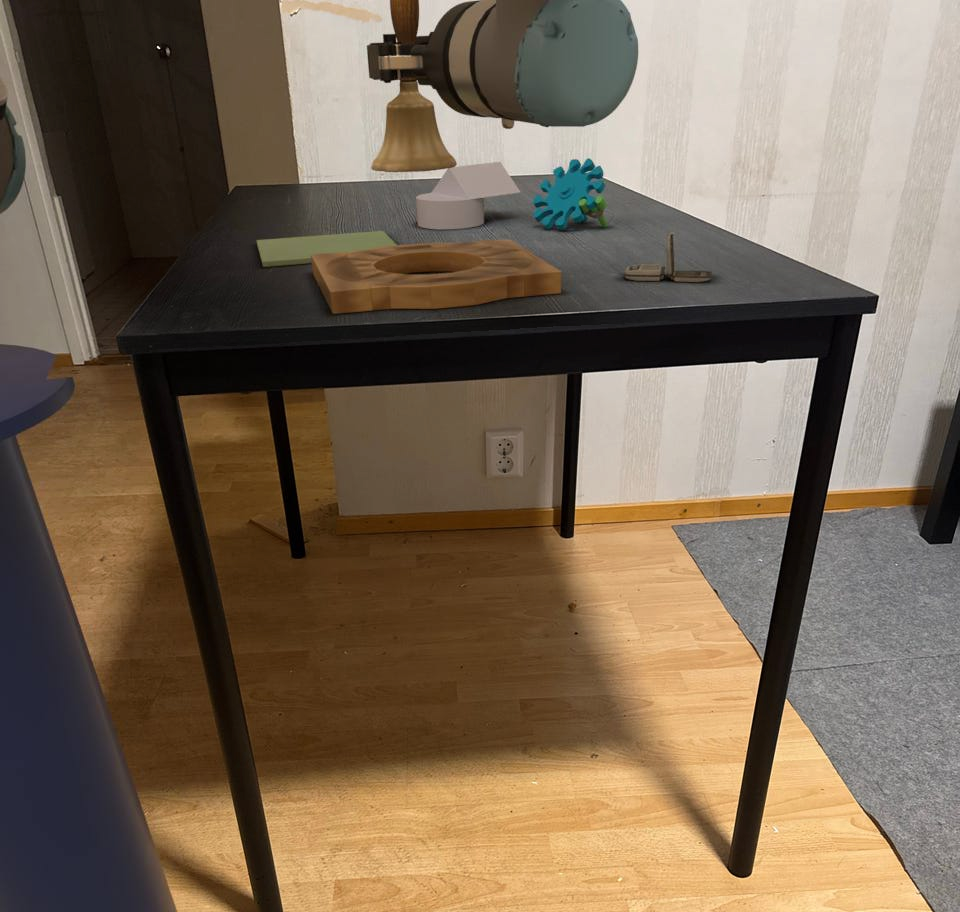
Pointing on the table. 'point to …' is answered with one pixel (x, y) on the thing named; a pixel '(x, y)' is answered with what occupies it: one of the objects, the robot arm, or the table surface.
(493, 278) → the socket board
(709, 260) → the table surface
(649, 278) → the strap clip
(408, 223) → the table surface
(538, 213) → the gear
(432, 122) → the hand bell
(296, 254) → the mat
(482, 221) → the wedge on round base
